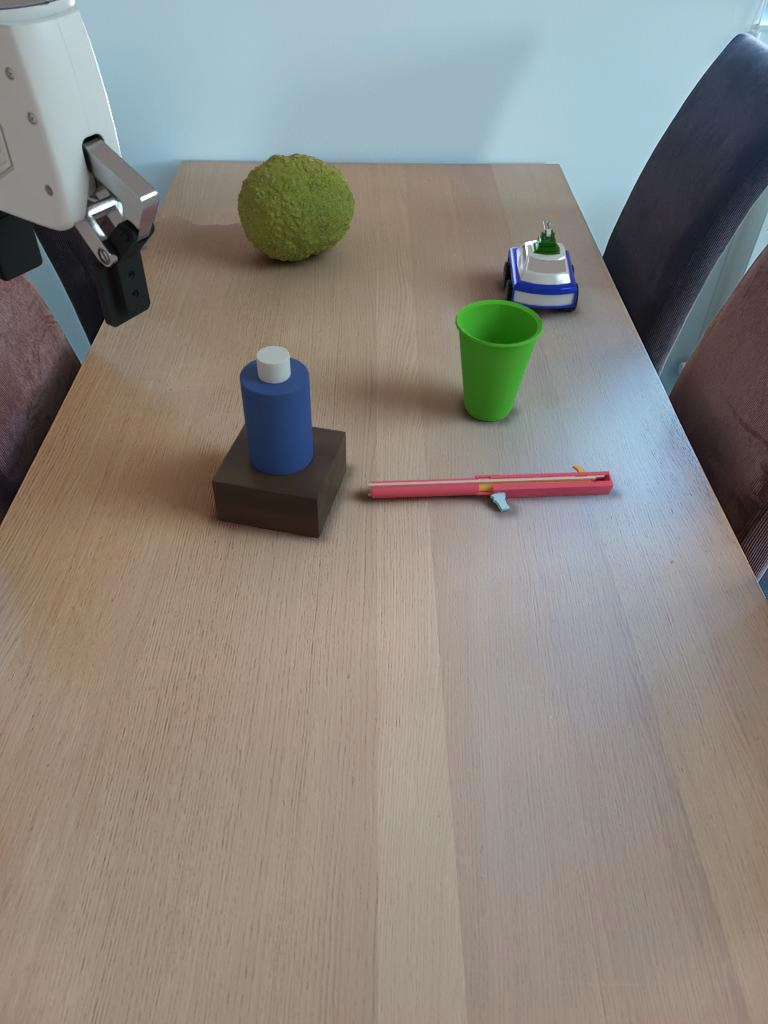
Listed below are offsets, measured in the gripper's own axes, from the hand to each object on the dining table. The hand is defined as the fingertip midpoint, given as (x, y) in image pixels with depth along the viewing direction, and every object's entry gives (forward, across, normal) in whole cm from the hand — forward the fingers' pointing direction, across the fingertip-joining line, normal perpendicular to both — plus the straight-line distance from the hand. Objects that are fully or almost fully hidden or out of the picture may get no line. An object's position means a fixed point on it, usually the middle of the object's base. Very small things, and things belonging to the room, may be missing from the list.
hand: (73, 293), depth 51 cm
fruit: (+28, -28, +58) cm, 70 cm away
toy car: (+28, +6, +66) cm, 72 cm away
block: (+28, +2, +16) cm, 32 cm away
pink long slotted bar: (+28, +19, +27) cm, 44 cm away
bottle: (+23, +2, +16) cm, 28 cm away
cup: (+28, +12, +40) cm, 50 cm away
